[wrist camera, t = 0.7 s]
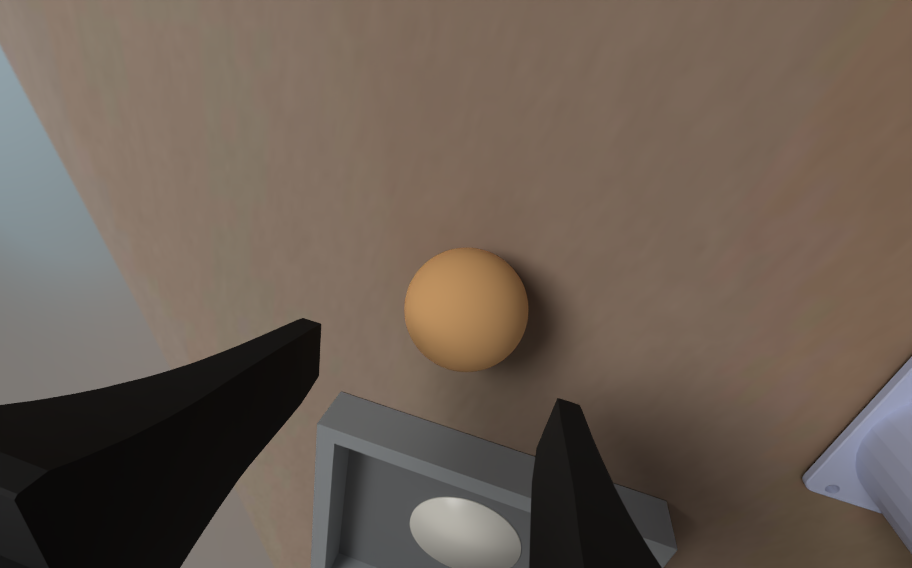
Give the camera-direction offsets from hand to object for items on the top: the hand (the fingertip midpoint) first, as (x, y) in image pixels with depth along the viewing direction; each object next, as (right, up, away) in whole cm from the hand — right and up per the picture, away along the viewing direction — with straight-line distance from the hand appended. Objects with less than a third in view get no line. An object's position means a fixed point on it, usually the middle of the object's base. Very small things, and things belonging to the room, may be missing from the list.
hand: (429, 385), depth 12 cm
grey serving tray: (+1, -12, +14) cm, 19 cm away
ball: (+1, +2, +4) cm, 5 cm away
